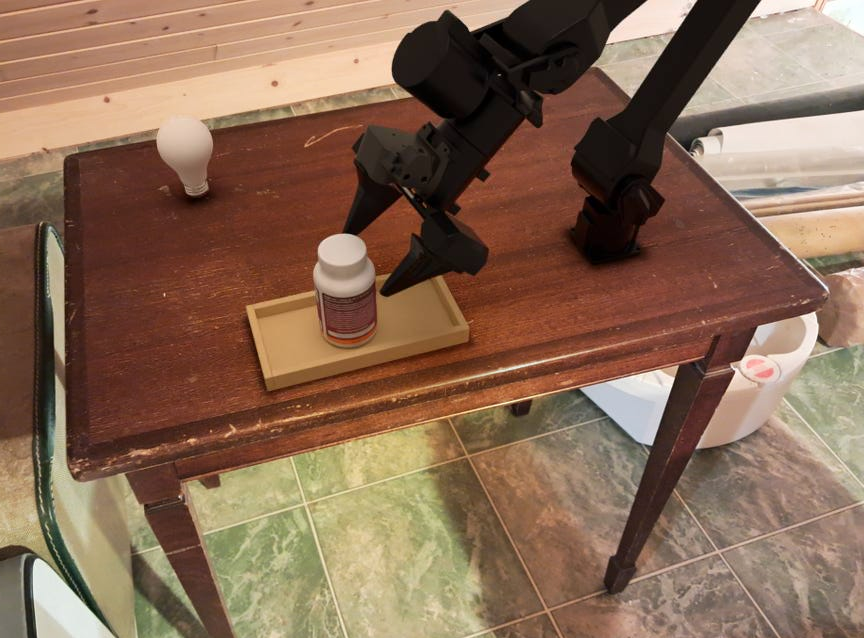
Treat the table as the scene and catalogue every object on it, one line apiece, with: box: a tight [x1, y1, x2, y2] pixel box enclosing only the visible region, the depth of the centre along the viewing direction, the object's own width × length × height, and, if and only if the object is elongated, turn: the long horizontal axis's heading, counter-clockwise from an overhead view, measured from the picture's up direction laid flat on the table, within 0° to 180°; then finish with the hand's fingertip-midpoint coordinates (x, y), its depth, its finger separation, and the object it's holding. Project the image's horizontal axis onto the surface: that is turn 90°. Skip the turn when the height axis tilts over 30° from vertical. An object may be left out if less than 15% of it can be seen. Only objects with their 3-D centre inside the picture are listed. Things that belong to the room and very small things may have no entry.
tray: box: [245, 272, 471, 392], centre depth 77 cm, size 22×11×2 cm, turn 107°
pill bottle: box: [312, 233, 378, 348], centre depth 73 cm, size 6×6×11 cm
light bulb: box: [156, 114, 214, 199], centre depth 89 cm, size 7×7×11 cm
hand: (363, 265), depth 71 cm, fingers open, 9 cm apart
